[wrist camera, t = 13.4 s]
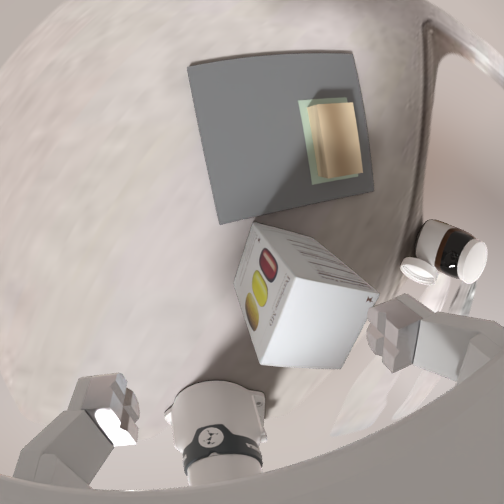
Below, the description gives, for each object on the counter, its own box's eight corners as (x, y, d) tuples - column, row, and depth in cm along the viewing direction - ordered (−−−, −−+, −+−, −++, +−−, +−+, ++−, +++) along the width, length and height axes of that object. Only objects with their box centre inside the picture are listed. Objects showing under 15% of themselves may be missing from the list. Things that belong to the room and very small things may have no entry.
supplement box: (252, 219, 38) (296, 271, 22) (314, 236, 40) (384, 290, 25) (231, 286, 40) (258, 368, 25) (292, 297, 43) (342, 372, 27)
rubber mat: (370, 190, 40) (374, 191, 39) (219, 223, 37) (220, 225, 36) (348, 55, 32) (352, 53, 31) (187, 69, 30) (187, 66, 29)
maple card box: (341, 104, 34) (352, 102, 31) (351, 170, 37) (362, 172, 34) (306, 107, 33) (316, 104, 30) (318, 176, 36) (328, 178, 34)
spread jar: (450, 225, 45) (496, 244, 35) (431, 281, 49) (472, 308, 38) (410, 209, 42) (461, 229, 32) (389, 274, 46) (433, 306, 35)
